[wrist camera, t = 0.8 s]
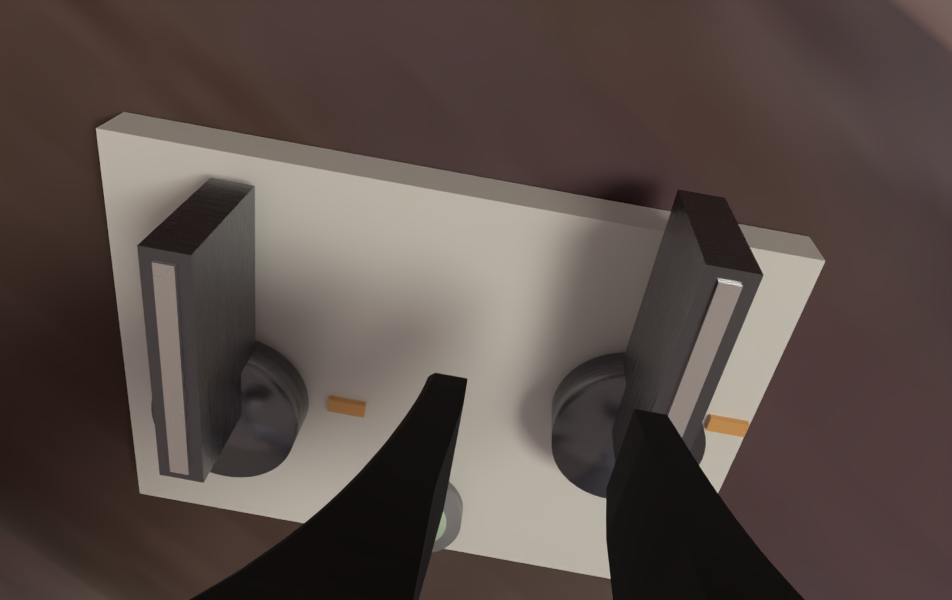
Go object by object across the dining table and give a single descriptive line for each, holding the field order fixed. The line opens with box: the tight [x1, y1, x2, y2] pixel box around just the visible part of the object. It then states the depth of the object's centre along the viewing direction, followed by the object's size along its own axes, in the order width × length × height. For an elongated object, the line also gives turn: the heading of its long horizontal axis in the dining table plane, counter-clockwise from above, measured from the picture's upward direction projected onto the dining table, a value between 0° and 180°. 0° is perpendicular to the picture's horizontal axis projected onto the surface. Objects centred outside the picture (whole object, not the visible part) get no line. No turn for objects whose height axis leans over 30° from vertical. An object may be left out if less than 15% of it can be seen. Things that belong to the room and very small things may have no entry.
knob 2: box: [137, 178, 309, 483], centre depth 20 cm, size 10×4×4 cm, turn 171°
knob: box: [552, 190, 763, 498], centre depth 19 cm, size 10×4×4 cm, turn 171°
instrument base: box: [96, 112, 825, 579], centre depth 24 cm, size 14×20×2 cm
